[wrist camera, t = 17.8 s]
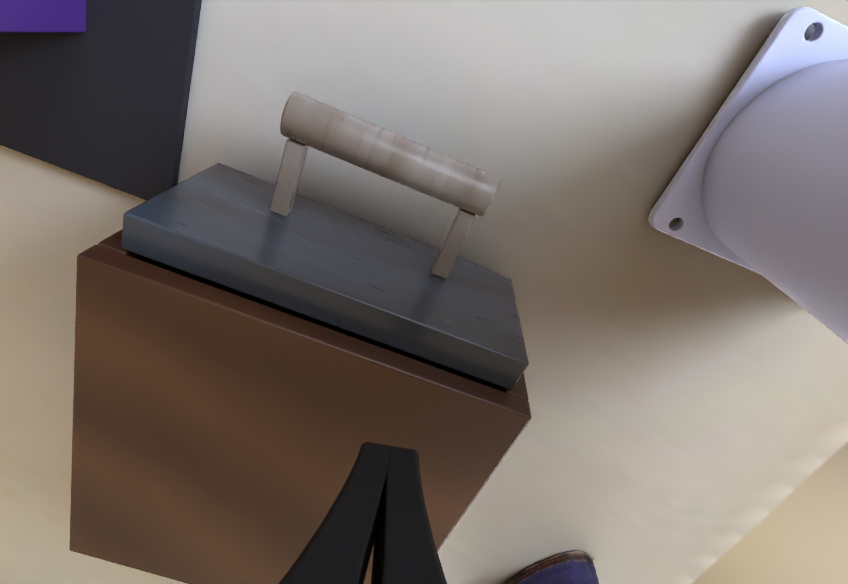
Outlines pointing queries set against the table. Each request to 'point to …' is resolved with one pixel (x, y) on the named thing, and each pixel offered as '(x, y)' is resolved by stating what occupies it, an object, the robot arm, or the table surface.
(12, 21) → the snack box
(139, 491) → the cabinet
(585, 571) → the flask
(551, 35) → the table surface
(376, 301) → the drawer
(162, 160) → the mat
